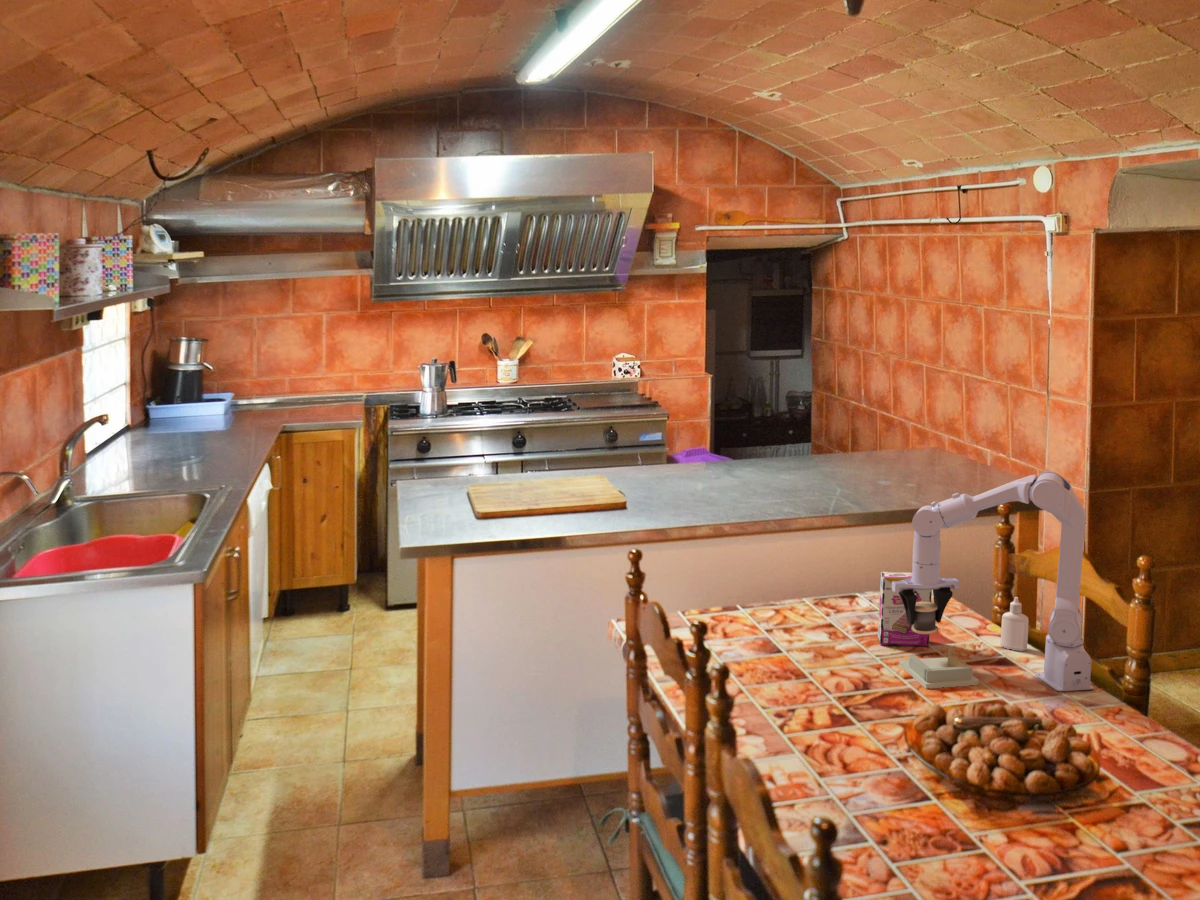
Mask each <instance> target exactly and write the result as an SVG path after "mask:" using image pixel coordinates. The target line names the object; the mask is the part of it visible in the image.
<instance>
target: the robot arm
mask: <svg viewBox="0 0 1200 900" xmlns="http://www.w3.org/2000/svg"><path fill="white" fill-rule="evenodd" d="M1036 475H1037V476H1036ZM1012 501H1018V502H1020V503H1023V504H1027V505H1029V504H1030V501H1031V502H1032V503H1033V504H1034V506H1036V507H1037V508H1038V509H1039V508H1040V509H1041V510H1044V511H1045V512H1048V513H1049V514H1051V515H1052V516H1053V517H1054V518H1055V519H1056V520H1058V522H1059V523H1061V529H1060V542H1059V543H1060V544H1059V551H1058V552H1059V554H1058V555H1059V556H1058V567H1057V577H1056V578H1057V579H1056V590H1055V591H1056V592H1055V602H1054V607H1053V609H1052V611H1051V612H1050V617H1049V618H1050V619H1049V620H1050V621H1049V623H1048V626H1047V635H1045V648H1044V665H1043V672H1035V674H1034V676H1036V677H1037V678H1039V680H1041V681H1043V682H1044V683H1045V684H1047V685H1048V686H1050V687H1051V688H1052V689H1053V690H1055V691H1057V692H1070V691H1071V692H1072V691H1073V692H1074V691H1075V692H1076V691H1087V690H1090V691H1091V690H1094V689H1095V688H1094V686H1093V685H1091V675H1092V674H1091V672H1092V658H1091V656H1090V655H1089V654H1088V652H1087V651H1086V650H1085V648H1084V638H1083V637H1082V624H1083V620H1084V619H1083V615H1082V612H1081V609H1080V592H1081V591H1080V589H1081V581H1082V567H1083V557H1084V545H1085V531H1086V524H1087V523H1086V521H1087V520H1086V519H1087V512H1086V509H1085V508H1084V506H1083V505H1082V503H1081V501H1080V499H1079V498H1078V497H1077V494H1076V492H1075V491H1074V489H1073V487H1072V485H1071V483H1070V482H1069V481H1068V480H1067V479H1065V478H1064V477H1063V476H1062V475H1060V474H1059V473H1057V472H1055V471H1050V470H1049V471H1044V472H1041V473H1039V474H1031V475H1027V476H1024V477H1022V478H1019V479H1014V480H1012V481H1010V482H1008V483H1005V484H1002V485H1000V486H997V487H995V488H992V489H990V490H986V491H985V492H982V493H979V494H976V495H974V496H972V495H970V494H968V493H962V494H960V493H959V492H956V493H953V494H952V495H951V497H950V498H947V499H945V500H942V501H939V502H937V501H935V500H934V501H932V502H931V503H930V505H929V504H928V505H924V506H922V507H920V508H919V509H918V510H917V511H916V513H915V514H913V515H914V516H913V517H912V522H911V525H912V528H913V530H914V532H913V537H914V538H913V541H912V542H913V543H912V563H911V565H912V570H911V571H912V572H911V573H912V579H907V580H901V581H894V582H892V591H894V592H895V593H897V592H898V593H899V595H900V597H901V599H902V602H903V604H904V607H905V611H906V615H907V621H908V622H909V623H910V624H914V621H915V605H916V600H917V596H916V595H914V592H913V591H915V590H932V596H933V603H935V604H937V605H938V609H937V610H936V611H935V615H936V622H937V623H941V622H942V617H943V615H944V612H945V610H946V607H947V605H948V603H949V602H950V600H951V599H952V597H953V591H952V589H953V590H959V589H960V580H959V579H957V578H956V577H953V578H952V577H950V578H949V577H946V578H945V577H940V574H941V573H940V572H941V571H940V570H941V569H940V568H941V545H942V544H941V529H949V528H952V527H955V526H957V525H960V524H963V523H966V522H969V521H972V520H975V519H976V517H977V515H978V513H979V512H980V511H983V510H985V509H986V510H987V509H990V508H992V507H997V506H1000V505H1003V504H1006V503H1009V502H1012Z"/></svg>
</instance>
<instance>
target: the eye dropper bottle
mask: <svg viewBox="0 0 1200 900" xmlns="http://www.w3.org/2000/svg"><path fill="white" fill-rule="evenodd" d="M1009 605H1010V606H1009V611H1007V612H1004V613H1003V614H1002V616H1001V624H1000V625H1001V627H1000V629H1001V630H1000V644H999V645H1000V647H1001V648H1003V647H1004V648H1003V649H1005V648H1007V649H1006V650H1009V649H1012V650H1011V651H1013V650H1019V651H1018V652H1025V651H1026V650H1028V641H1029V640H1028V639H1029V617H1028V616H1027V615H1026V614H1024V613H1022V603H1021V602H1020V601H1019V597H1018V596H1015V597H1014V599H1013V601H1011V602H1010V604H1009Z"/></svg>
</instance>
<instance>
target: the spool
mask: <svg viewBox="0 0 1200 900" xmlns="http://www.w3.org/2000/svg"><path fill="white" fill-rule="evenodd" d="M937 609H938V605H937V604H935V603H934V602H932V601H931V602H916V605H915V621H914V625H913V626H912V627H911V630H912V631H913V632H915V633H918V634H929V635H932V634H935V633H938V632H939V627H938V626H937V624H936V615H935V611H936V610H937Z"/></svg>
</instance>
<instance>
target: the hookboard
mask: <svg viewBox="0 0 1200 900" xmlns="http://www.w3.org/2000/svg"><path fill="white" fill-rule="evenodd" d="M898 665H899V666H900V667H901V668H902V669H903V670H904V671H905V672H906V673H907V674H909V675H910V676H911V677H912V678H913V679H914V680H916V681H917V682H918V683H919V684H920V685H921V686H922V687H923V688H925V690H927V689H928V688H929V689H941V688H942V687H944V688H956V686H959V687H970V686H969V685H974V686H978V685H979V682H980V681H979V679H977V678H976V677H975V676H974V675H973V668H972V667H971V666H970V665H969V664H967V663H966V662H965V661H964V660H962V659H961V658H959V657H958V656H957V655H956V650H955V649H954V648H948V649H947V657H946V656H945V657H929V658H918V657H917V656H916V655H909V656H908V659H899V660H898ZM977 684H978V685H977ZM942 689H943V688H942Z"/></svg>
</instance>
